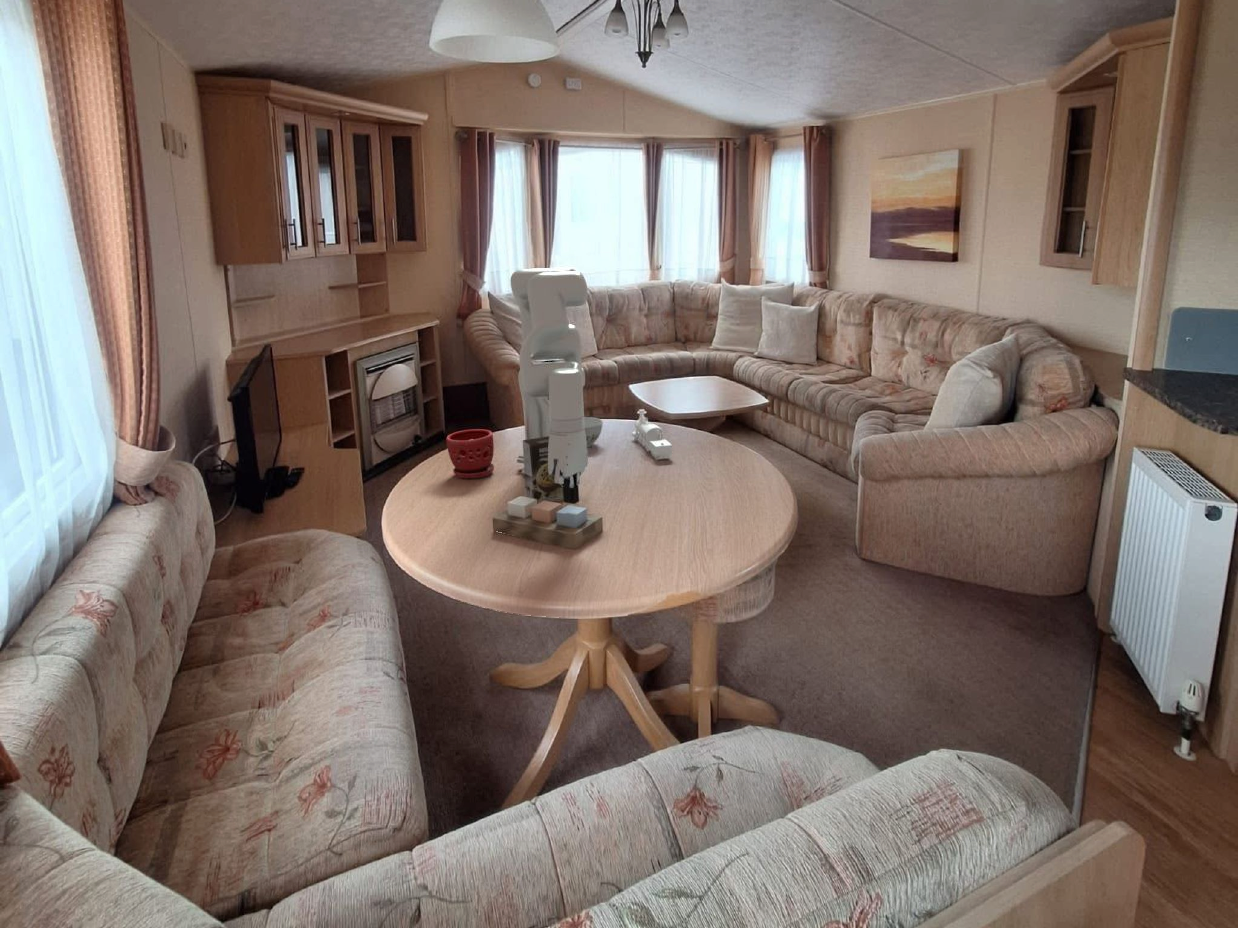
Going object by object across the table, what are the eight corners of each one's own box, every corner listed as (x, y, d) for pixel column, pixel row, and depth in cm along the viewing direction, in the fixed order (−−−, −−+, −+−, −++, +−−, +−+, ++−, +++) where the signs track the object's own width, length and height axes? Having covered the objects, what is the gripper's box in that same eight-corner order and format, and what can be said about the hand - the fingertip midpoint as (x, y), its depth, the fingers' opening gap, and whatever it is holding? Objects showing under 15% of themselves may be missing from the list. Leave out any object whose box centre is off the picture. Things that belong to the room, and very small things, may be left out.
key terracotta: (532, 521, 190) (531, 507, 189) (544, 514, 194) (543, 500, 193) (550, 524, 187) (549, 510, 186) (562, 517, 191) (561, 503, 190)
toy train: (646, 434, 269) (646, 405, 266) (674, 460, 242) (674, 427, 238) (628, 436, 268) (627, 406, 265) (654, 463, 240) (653, 429, 237)
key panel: (493, 531, 192) (492, 517, 191) (523, 515, 202) (522, 501, 201) (575, 549, 181) (574, 534, 180) (602, 530, 191) (602, 516, 190)
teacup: (606, 449, 254) (605, 424, 251) (566, 452, 252) (565, 427, 249) (599, 436, 268) (598, 413, 265) (561, 439, 266) (560, 415, 264)
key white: (508, 516, 193) (507, 502, 192) (520, 509, 197) (519, 496, 196) (525, 519, 191) (524, 506, 190) (537, 512, 195) (536, 499, 194)
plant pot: (495, 465, 241) (492, 426, 238) (496, 479, 229) (493, 438, 225) (450, 469, 239) (446, 429, 236) (449, 483, 227) (445, 442, 223)
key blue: (557, 526, 186) (556, 512, 185) (569, 519, 191) (568, 505, 189) (575, 530, 184) (574, 515, 183) (587, 522, 188) (586, 508, 187)
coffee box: (534, 506, 208) (530, 445, 203) (525, 498, 213) (521, 439, 208) (566, 499, 212) (563, 440, 207) (557, 492, 217) (553, 434, 212)
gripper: (571, 415, 188) (575, 490, 193) (533, 430, 176) (538, 510, 181) (599, 418, 184) (602, 494, 190) (562, 434, 172) (567, 515, 177)
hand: (571, 502), depth 185 cm, fingers closed
